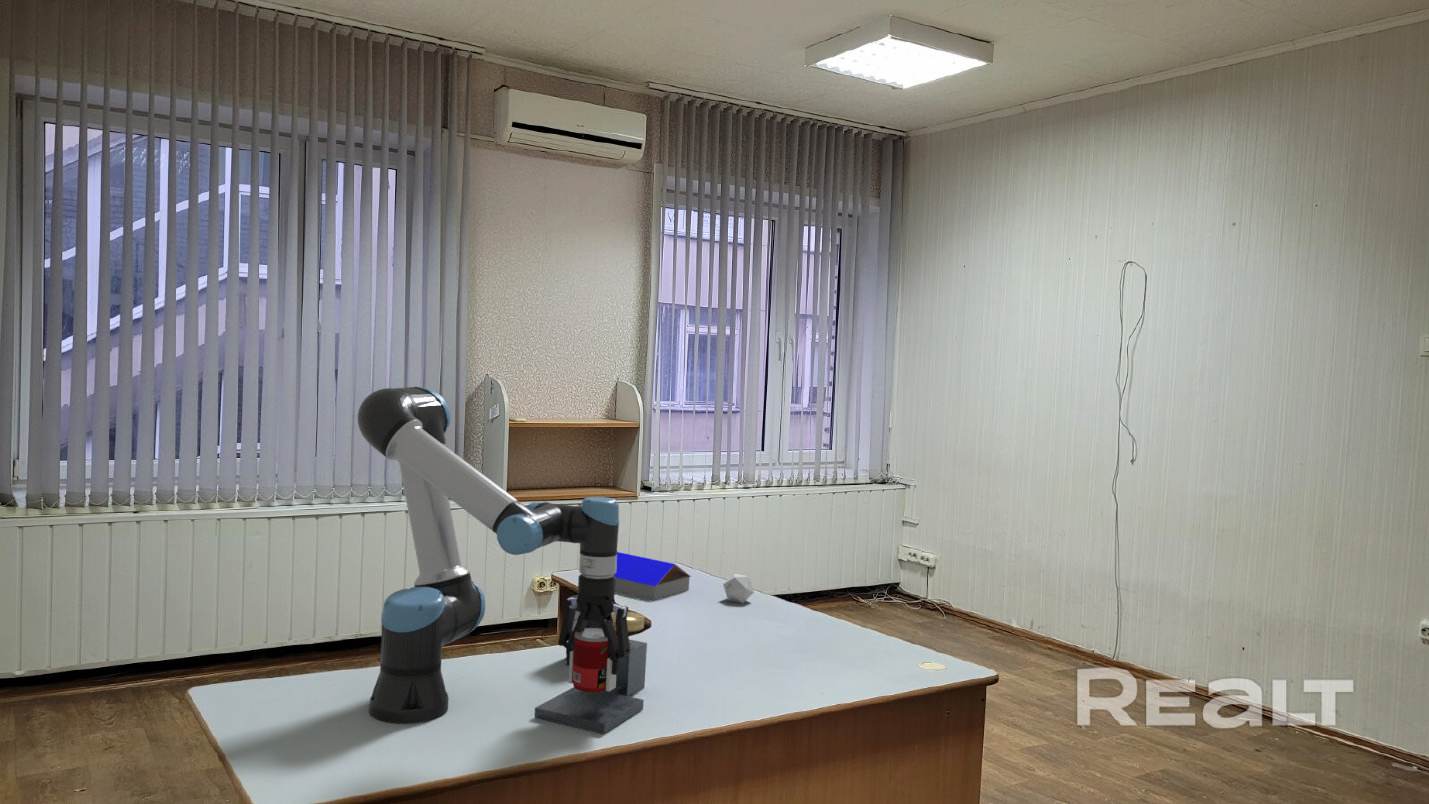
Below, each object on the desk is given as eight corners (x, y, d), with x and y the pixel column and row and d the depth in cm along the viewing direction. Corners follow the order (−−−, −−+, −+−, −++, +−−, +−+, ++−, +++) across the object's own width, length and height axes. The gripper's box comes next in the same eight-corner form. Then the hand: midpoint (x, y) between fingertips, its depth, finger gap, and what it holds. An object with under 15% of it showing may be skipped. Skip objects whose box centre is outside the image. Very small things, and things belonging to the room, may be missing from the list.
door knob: (592, 663, 220) (595, 618, 220) (613, 653, 229) (615, 609, 228) (629, 671, 217) (632, 625, 216) (649, 660, 225) (651, 615, 224)
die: (724, 598, 312) (716, 576, 306) (748, 584, 314) (740, 562, 308) (736, 614, 305) (728, 592, 300) (760, 599, 307) (753, 578, 302)
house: (627, 577, 331) (629, 546, 330) (690, 591, 317) (692, 559, 316) (589, 586, 315) (591, 554, 315) (654, 601, 302) (656, 568, 301)
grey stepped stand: (534, 717, 203) (537, 668, 203) (604, 679, 229) (607, 635, 228) (604, 734, 197) (607, 683, 196) (668, 692, 223) (671, 647, 222)
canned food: (604, 695, 203) (607, 640, 202) (566, 690, 204) (569, 636, 204) (616, 683, 210) (618, 630, 209) (579, 678, 212) (581, 626, 211)
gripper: (543, 570, 207) (538, 681, 208) (634, 585, 198) (628, 700, 200) (563, 564, 214) (558, 671, 215) (651, 578, 205) (646, 689, 206)
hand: (592, 685), depth 207 cm, fingers closed on canned food, 8 cm apart
